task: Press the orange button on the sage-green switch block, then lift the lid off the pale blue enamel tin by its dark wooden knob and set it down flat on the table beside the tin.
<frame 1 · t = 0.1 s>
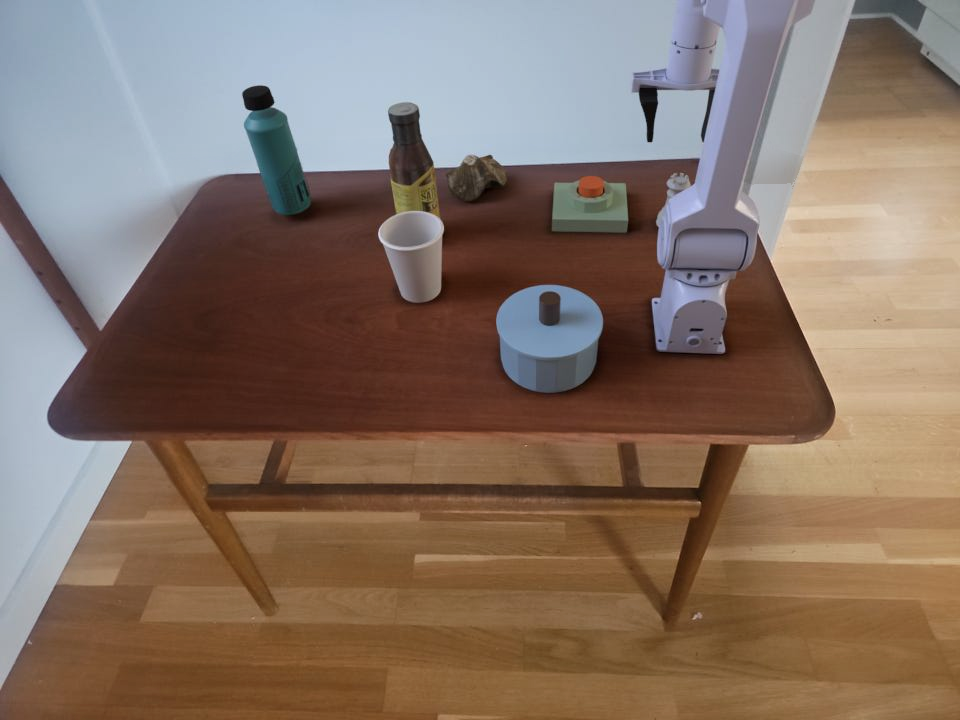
hand: (676, 139, 93), 10 cm above the table, tool pointing down, fingers open, 7 cm apart
tin lid: (549, 322, 74), point 6 cm above the table, touching tin
switch block: (589, 212, 99), on the table
fossilized seashell: (477, 191, 106), on the table
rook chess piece: (670, 226, 96), on the table
button: (590, 187, 96), point 4 cm above the table, slide at 0.1 cm
tin: (548, 357, 79), on the table
beverage bottle: (294, 213, 104), on the table
sauce bottle: (421, 238, 98), on the table
dixie cup: (420, 290, 89), on the table
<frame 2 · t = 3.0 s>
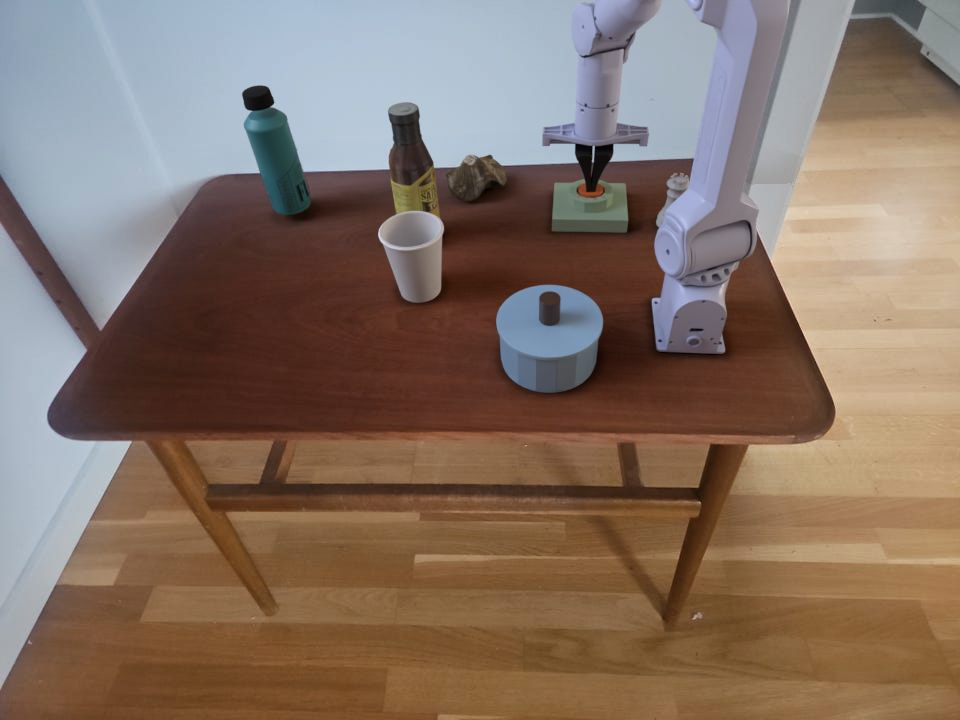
hand: (590, 188, 96), 4 cm above the table, tool pointing down, fingers closed, pressing on button
button: (590, 193, 97), point 3 cm above the table, slide at -0.9 cm, touching gripper
everything else where it was.
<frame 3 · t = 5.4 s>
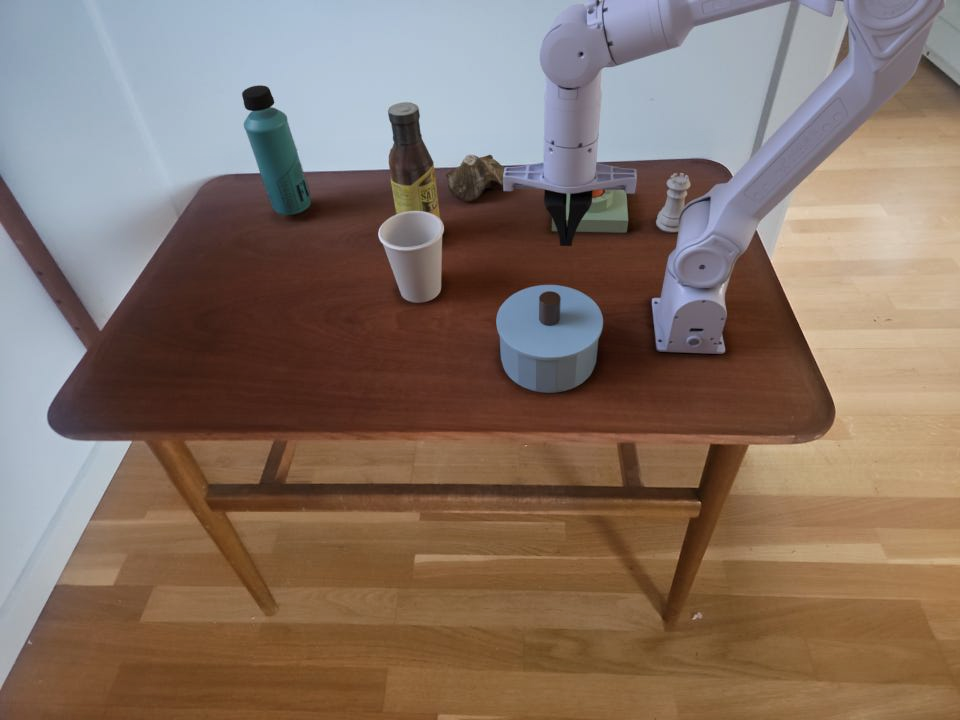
hand: (566, 241, 78), 10 cm above the table, tool pointing down, fingers closed
button: (590, 187, 96), point 4 cm above the table, slide at 0.1 cm
everything else where it was.
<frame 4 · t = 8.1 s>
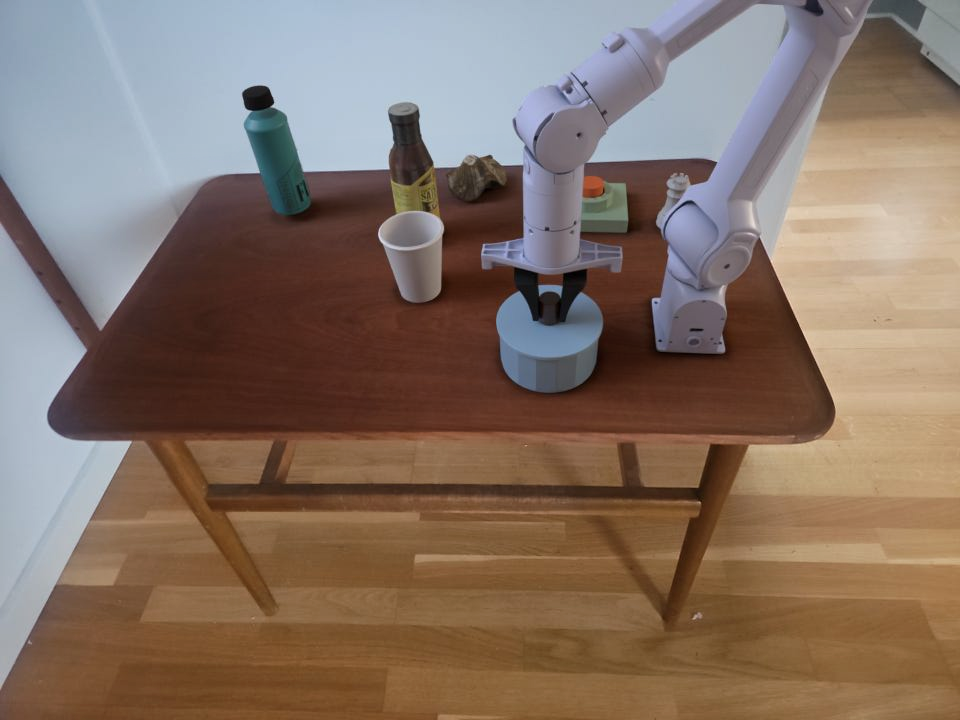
hand: (549, 315, 74), 7 cm above the table, tool pointing down, fingers closed on tin lid, 2 cm apart
tin lid: (549, 322, 74), point 6 cm above the table, touching gripper, tin
everything else where it was.
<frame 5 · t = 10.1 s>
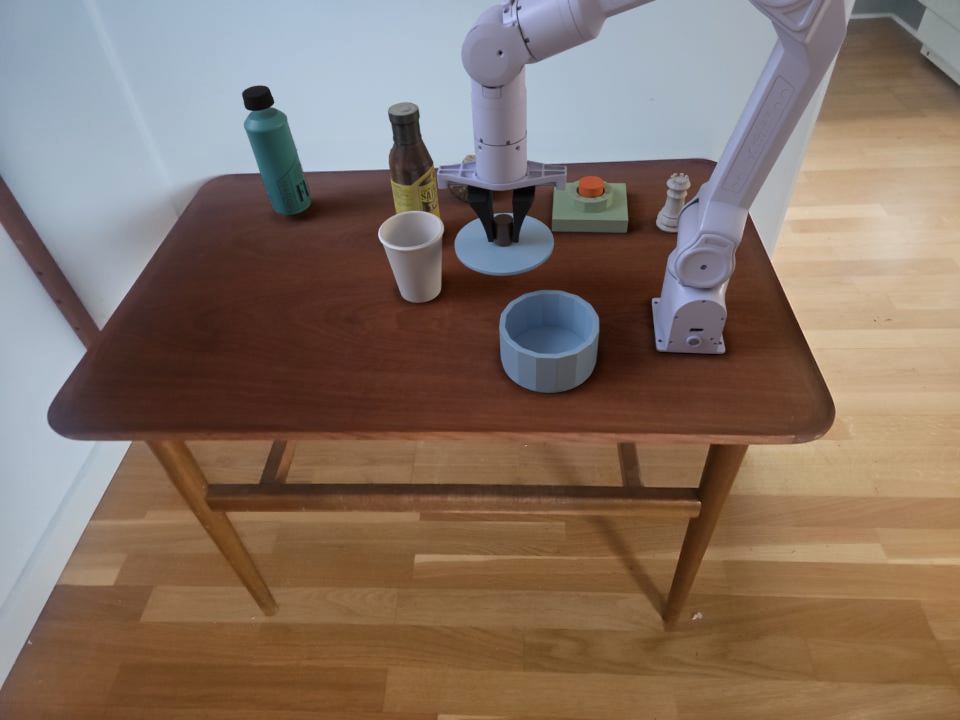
hand: (504, 237, 79), 10 cm above the table, tool pointing down, fingers closed on tin lid, 2 cm apart
tin lid: (504, 244, 80), point 9 cm above the table, touching gripper
everything else where it was.
when the fingers open (2 cm above the table, at t = 12.4 s): tin lid stays where it is, point 1 cm above the table.
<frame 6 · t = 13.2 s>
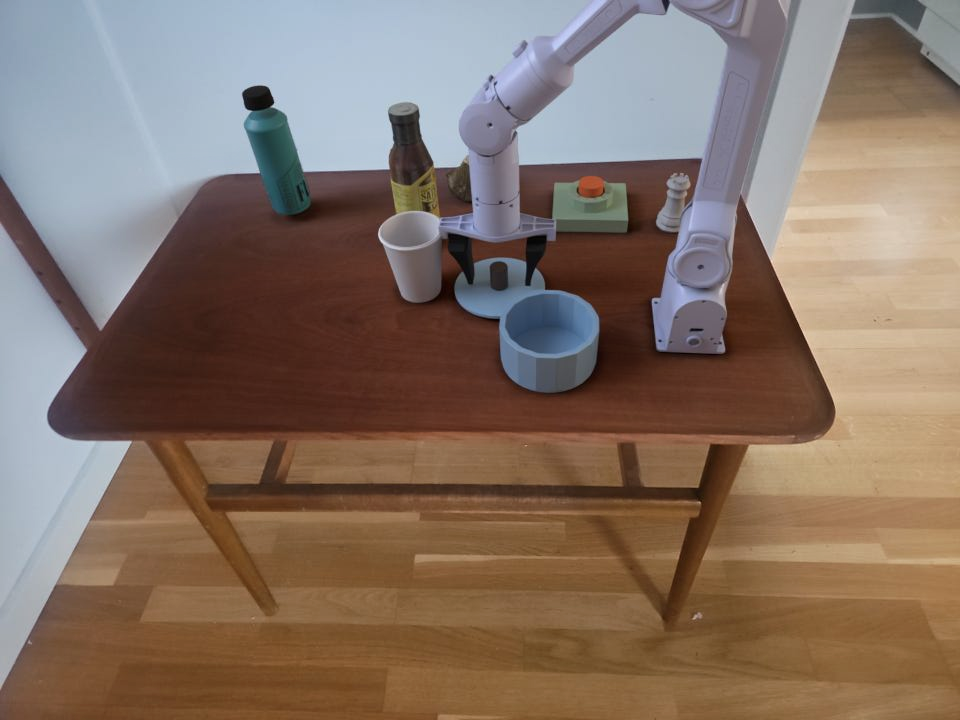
hand: (499, 280, 86), 2 cm above the table, tool pointing down, fingers open, 7 cm apart
tin lid: (499, 288, 87), point 1 cm above the table
everything else where it was.
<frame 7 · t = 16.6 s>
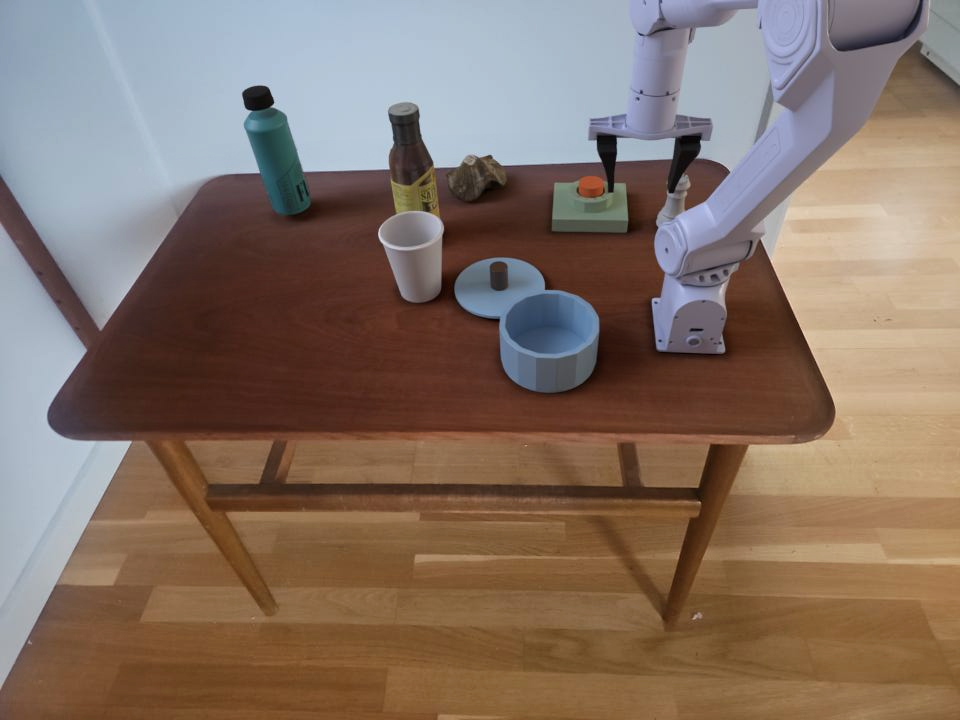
hand: (640, 189, 84), 10 cm above the table, tool pointing down, fingers open, 7 cm apart
nothing on the table moved.
at the end: button pushed in 1.2 cm at the most during the clip, back to where it started at the end; tin lid inside the target area (0.0 cm from its centre), point 0.6 cm above the table; tin lid tilted 0° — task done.
